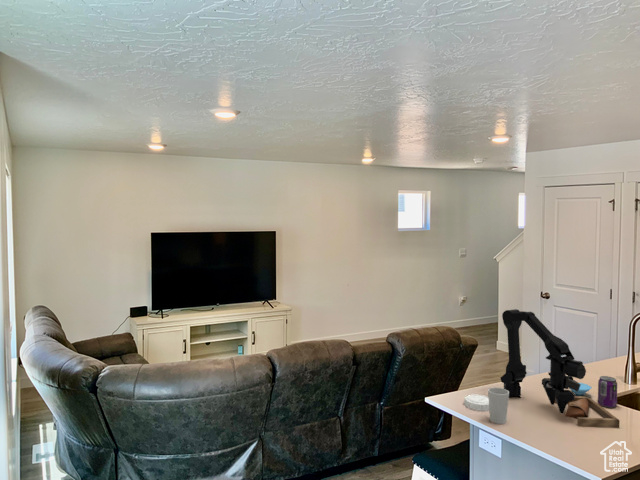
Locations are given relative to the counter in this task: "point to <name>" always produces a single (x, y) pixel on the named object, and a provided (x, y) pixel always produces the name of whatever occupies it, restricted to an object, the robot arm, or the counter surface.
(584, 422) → the corral
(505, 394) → the cup
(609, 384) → the beverage can
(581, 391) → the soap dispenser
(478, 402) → the mooncake
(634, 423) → the counter surface
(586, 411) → the sunglasses case
